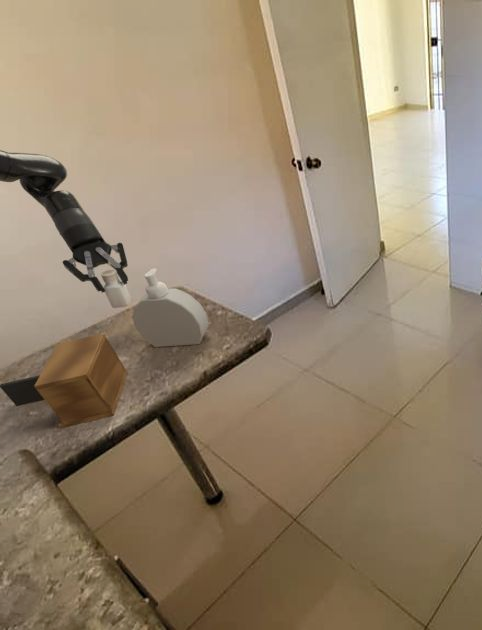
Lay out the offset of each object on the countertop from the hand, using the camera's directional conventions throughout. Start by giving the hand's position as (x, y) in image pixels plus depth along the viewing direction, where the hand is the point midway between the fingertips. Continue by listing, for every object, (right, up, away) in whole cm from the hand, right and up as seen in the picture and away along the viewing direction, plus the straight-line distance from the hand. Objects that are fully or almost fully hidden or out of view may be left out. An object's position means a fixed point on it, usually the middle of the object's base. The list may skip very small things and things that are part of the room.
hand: (114, 286), depth 111 cm
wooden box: (+5, -26, -14) cm, 30 cm away
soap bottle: (+16, -14, +3) cm, 21 cm away
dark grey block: (-3, -28, -18) cm, 33 cm away
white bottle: (-1, -5, +5) cm, 7 cm away
